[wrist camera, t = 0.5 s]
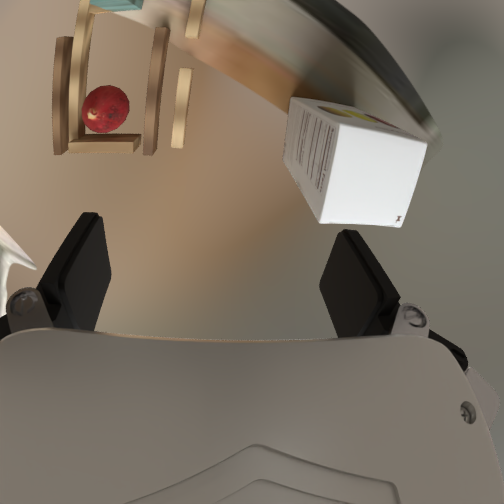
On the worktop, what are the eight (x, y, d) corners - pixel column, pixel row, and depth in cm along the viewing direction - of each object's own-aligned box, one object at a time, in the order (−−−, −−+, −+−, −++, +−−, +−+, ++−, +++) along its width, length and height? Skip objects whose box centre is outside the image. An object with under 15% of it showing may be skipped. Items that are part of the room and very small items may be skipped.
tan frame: (90, -11, 19) (67, -21, 14) (162, -18, 21) (150, -34, 15) (76, 144, 32) (53, 161, 27) (140, 144, 34) (126, 161, 28)
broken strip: (196, -11, 23) (195, -16, 21) (208, -10, 23) (207, -15, 21) (173, 142, 35) (171, 147, 33) (184, 143, 35) (182, 148, 33)
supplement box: (356, 106, 34) (432, 142, 21) (344, 166, 39) (404, 229, 26) (288, 95, 33) (338, 121, 19) (280, 161, 38) (317, 226, 25)
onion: (143, 91, 30) (124, 99, 24) (126, 131, 33) (105, 148, 26) (104, 77, 28) (78, 83, 21) (89, 117, 31) (62, 132, 24)
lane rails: (67, 38, 23) (56, 37, 21) (170, 30, 26) (166, 27, 23) (63, 148, 32) (54, 155, 30) (156, 148, 35) (152, 155, 33)
